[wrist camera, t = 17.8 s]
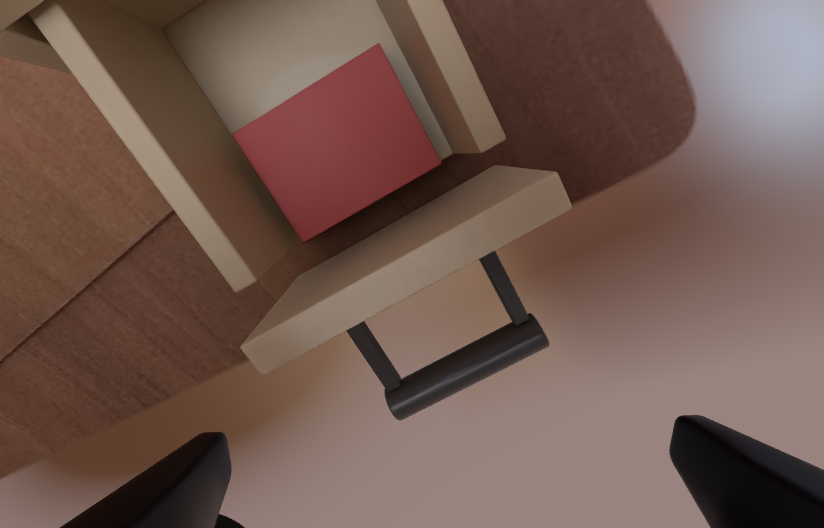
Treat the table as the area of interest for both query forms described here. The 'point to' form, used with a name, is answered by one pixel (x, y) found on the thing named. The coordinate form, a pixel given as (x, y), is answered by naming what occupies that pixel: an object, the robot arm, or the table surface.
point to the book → (339, 144)
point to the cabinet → (25, 36)
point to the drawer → (251, 200)
